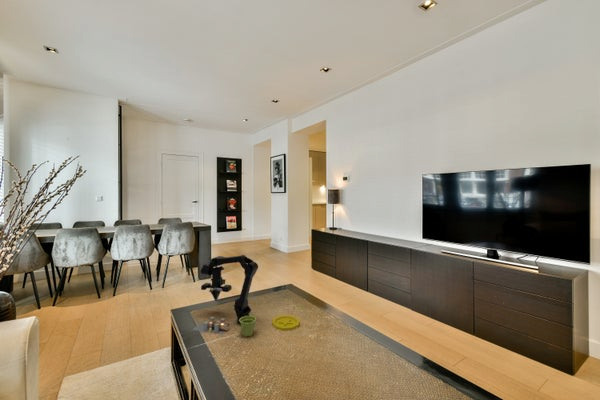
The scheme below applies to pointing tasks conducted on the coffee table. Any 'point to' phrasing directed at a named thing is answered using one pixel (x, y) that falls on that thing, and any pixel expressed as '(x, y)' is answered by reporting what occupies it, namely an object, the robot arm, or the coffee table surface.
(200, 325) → the board
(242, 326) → the plant pot
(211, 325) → the copper tube
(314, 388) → the coffee table surface
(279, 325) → the decorative disc
